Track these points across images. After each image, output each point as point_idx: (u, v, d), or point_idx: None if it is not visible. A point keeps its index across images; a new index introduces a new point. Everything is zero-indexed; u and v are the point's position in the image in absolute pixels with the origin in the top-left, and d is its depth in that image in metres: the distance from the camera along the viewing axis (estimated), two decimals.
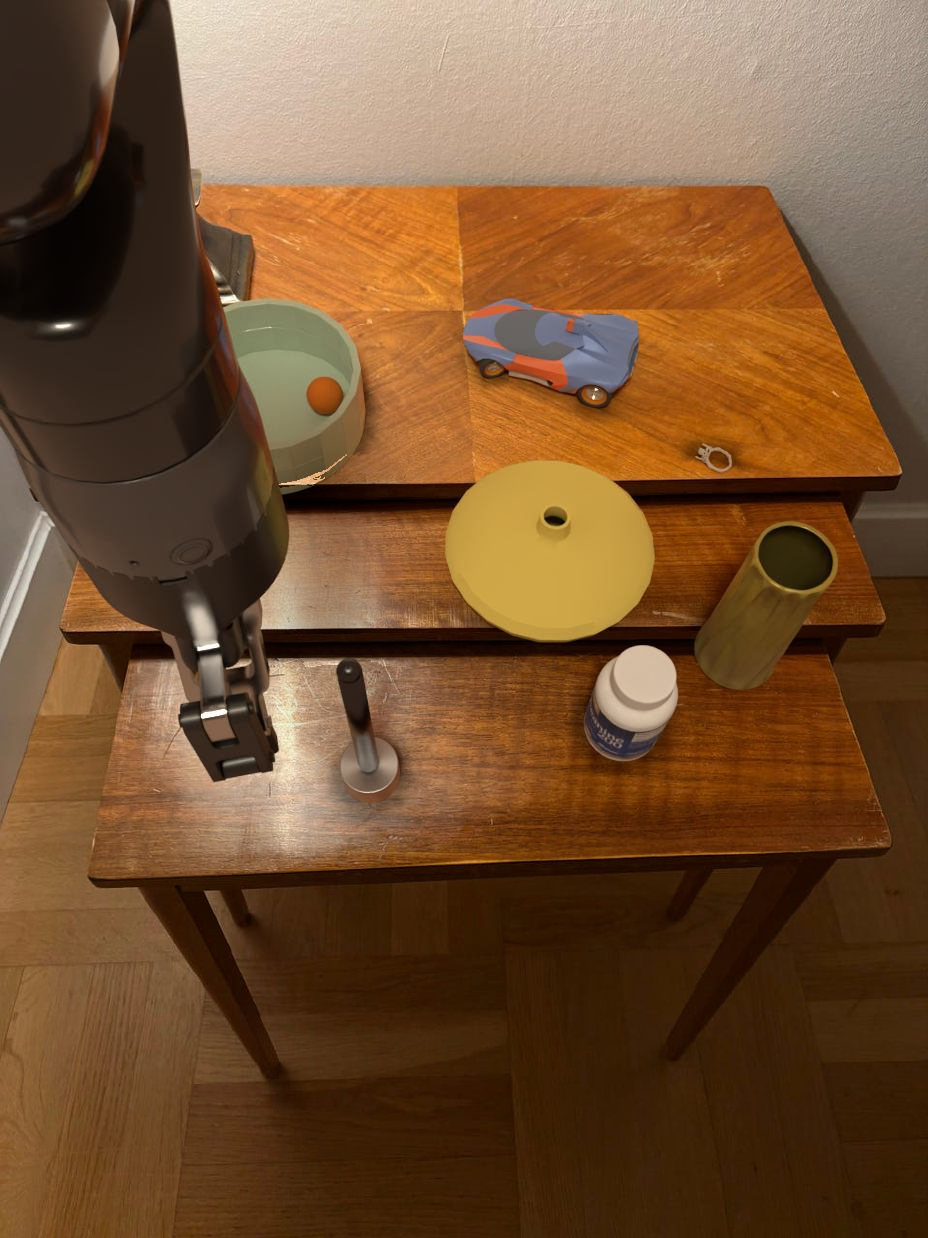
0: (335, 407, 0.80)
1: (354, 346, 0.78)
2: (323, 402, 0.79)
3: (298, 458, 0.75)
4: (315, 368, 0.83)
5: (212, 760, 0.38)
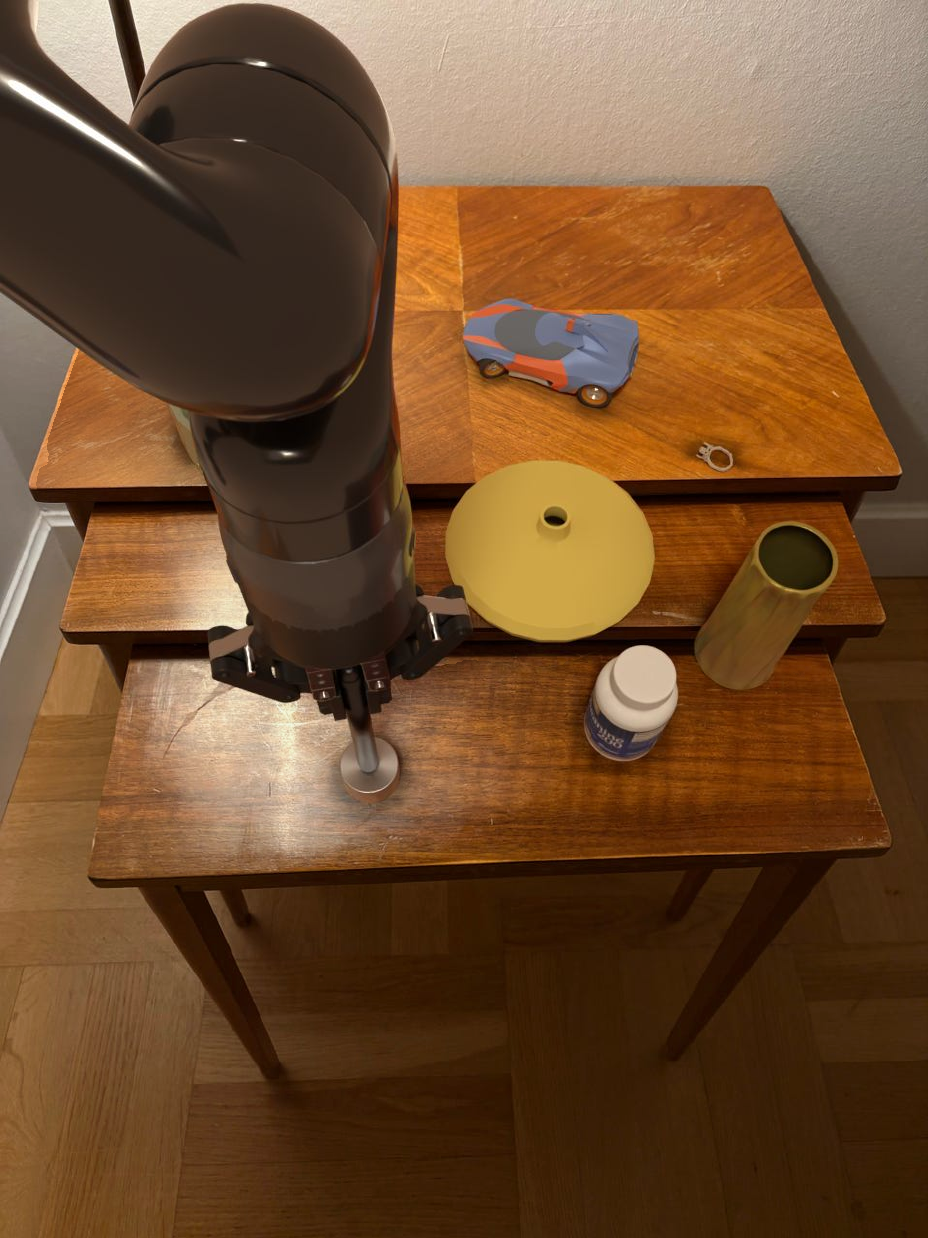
0: None
1: None
2: None
3: None
4: None
5: None
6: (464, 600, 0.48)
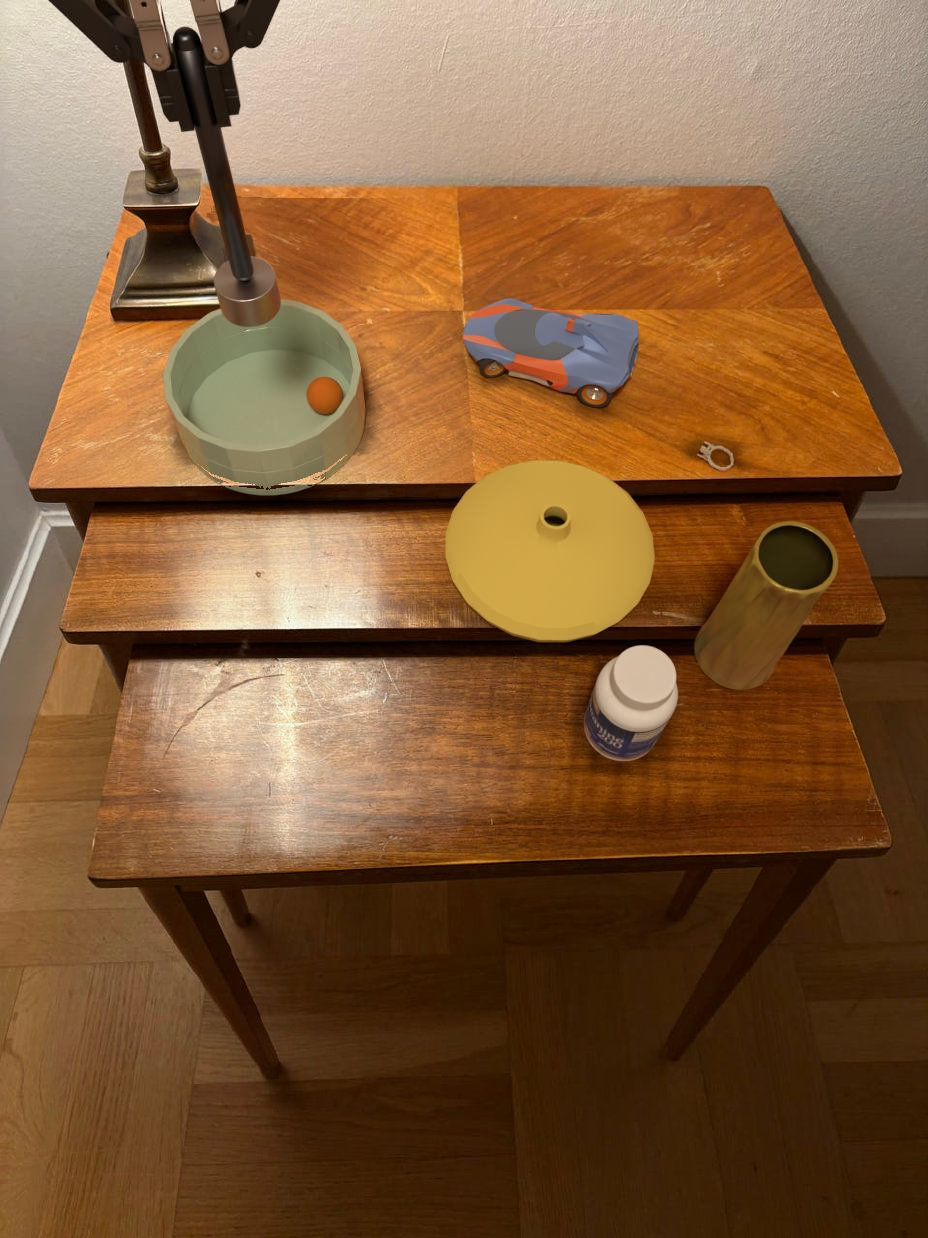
0: (335, 407, 0.80)
1: (354, 346, 0.78)
2: (323, 402, 0.79)
3: (298, 458, 0.75)
4: (315, 368, 0.83)
5: None
6: None
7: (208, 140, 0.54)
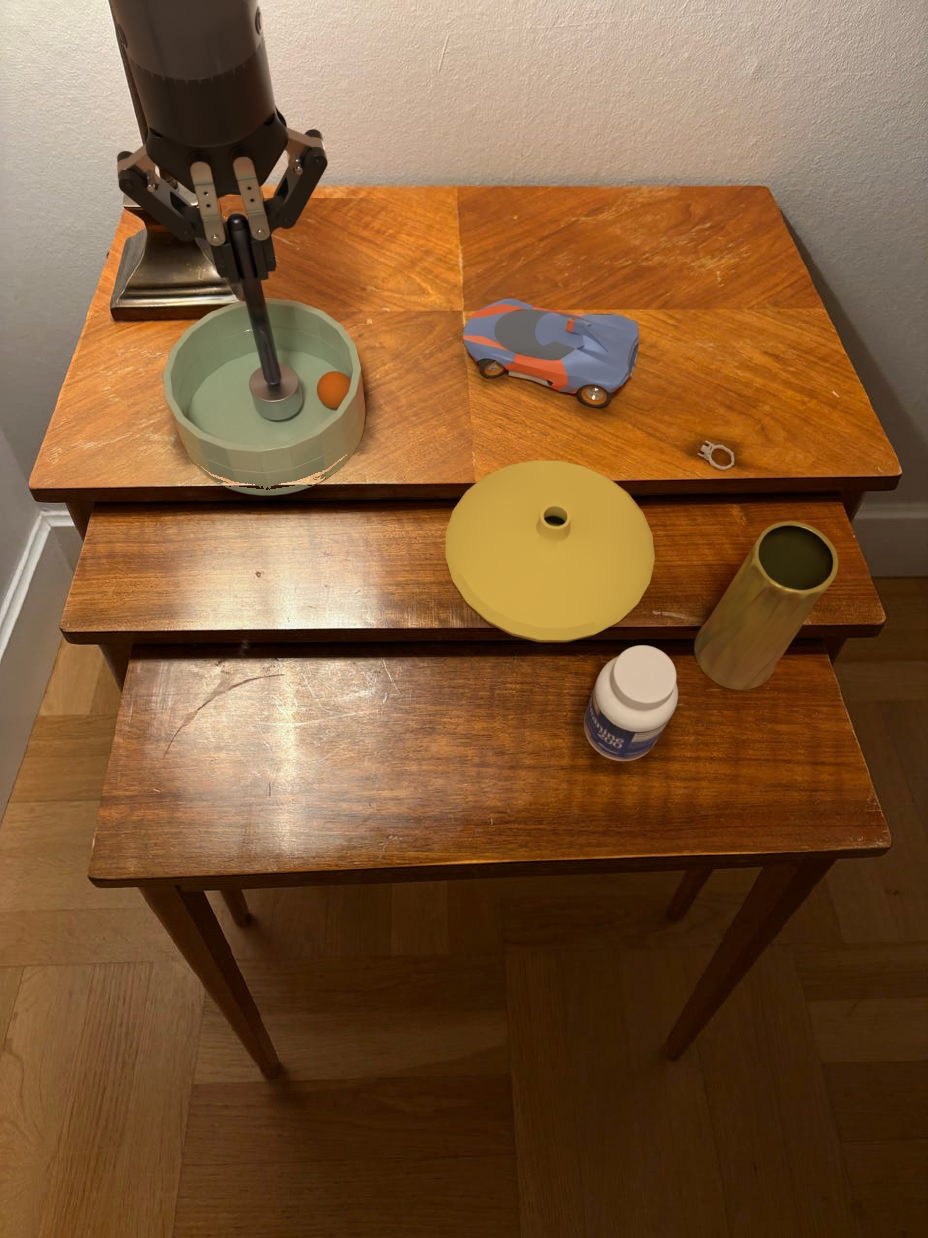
0: None
1: (354, 346, 0.78)
2: (339, 391, 0.79)
3: (298, 458, 0.75)
4: (315, 368, 0.83)
5: None
6: (321, 140, 0.61)
7: (250, 288, 0.69)
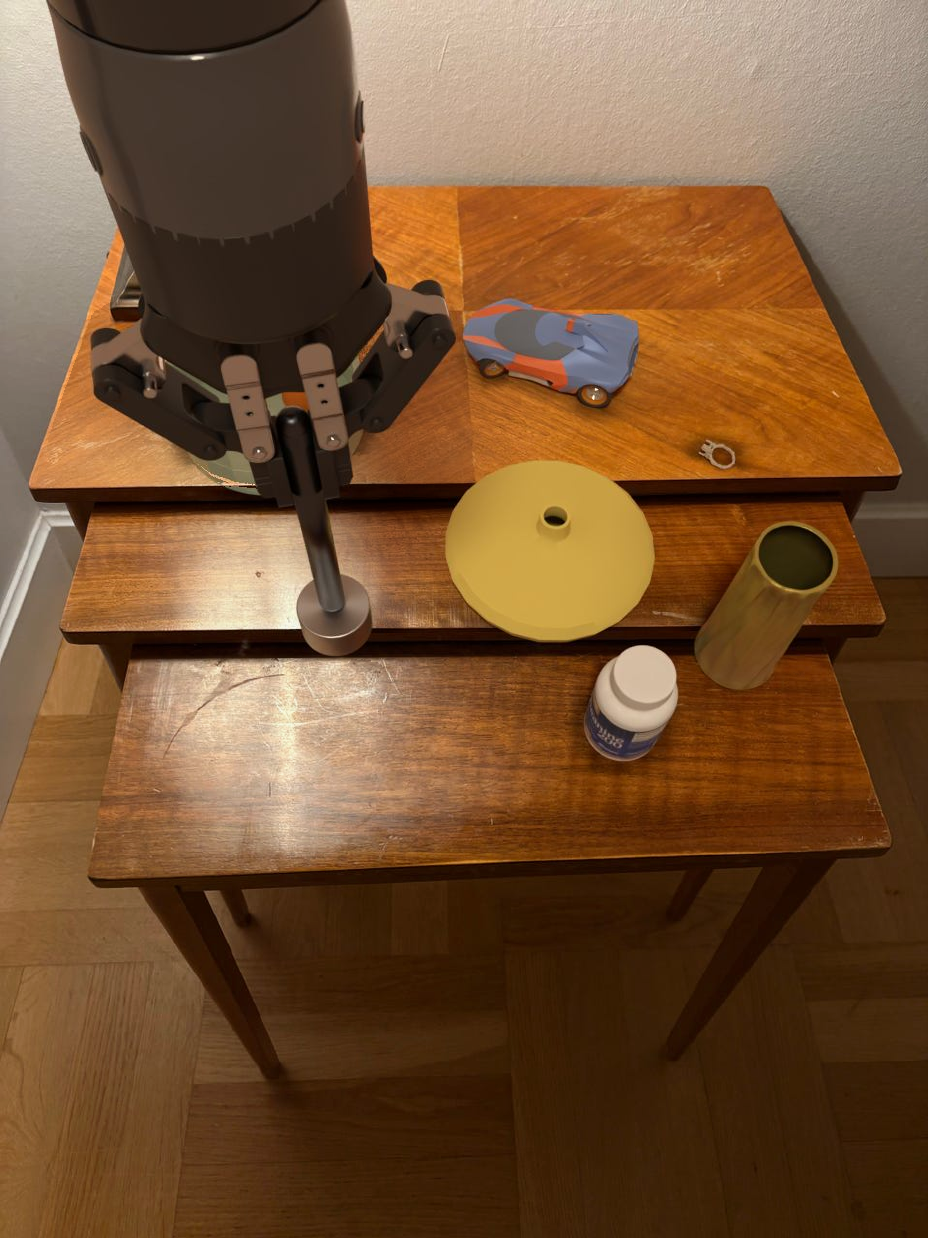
0: (300, 403, 0.79)
1: None
2: None
3: None
4: None
5: None
6: (443, 299, 0.35)
7: (309, 507, 0.43)
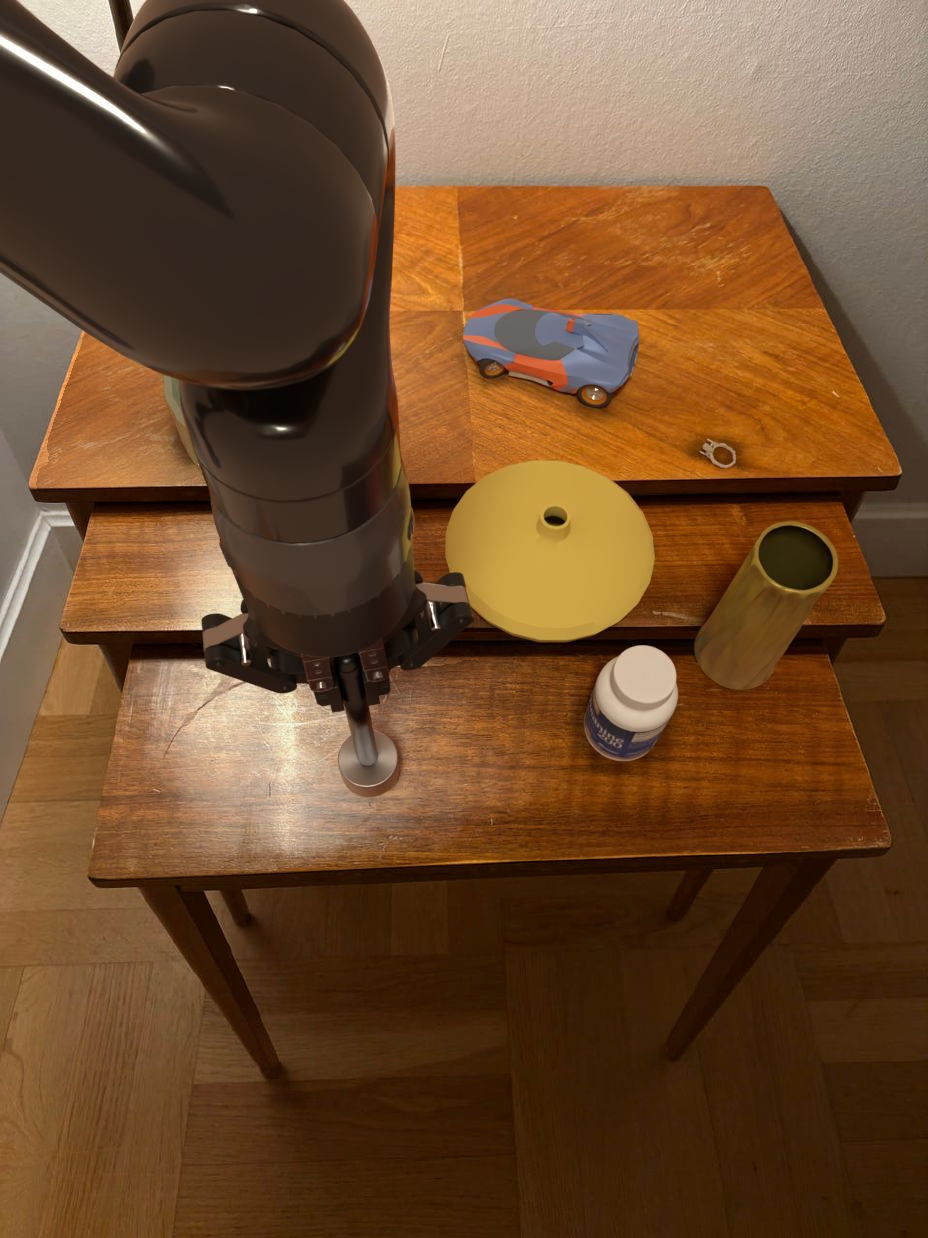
0: None
1: None
2: None
3: None
4: None
5: None
6: (464, 588, 0.47)
7: (355, 709, 0.55)
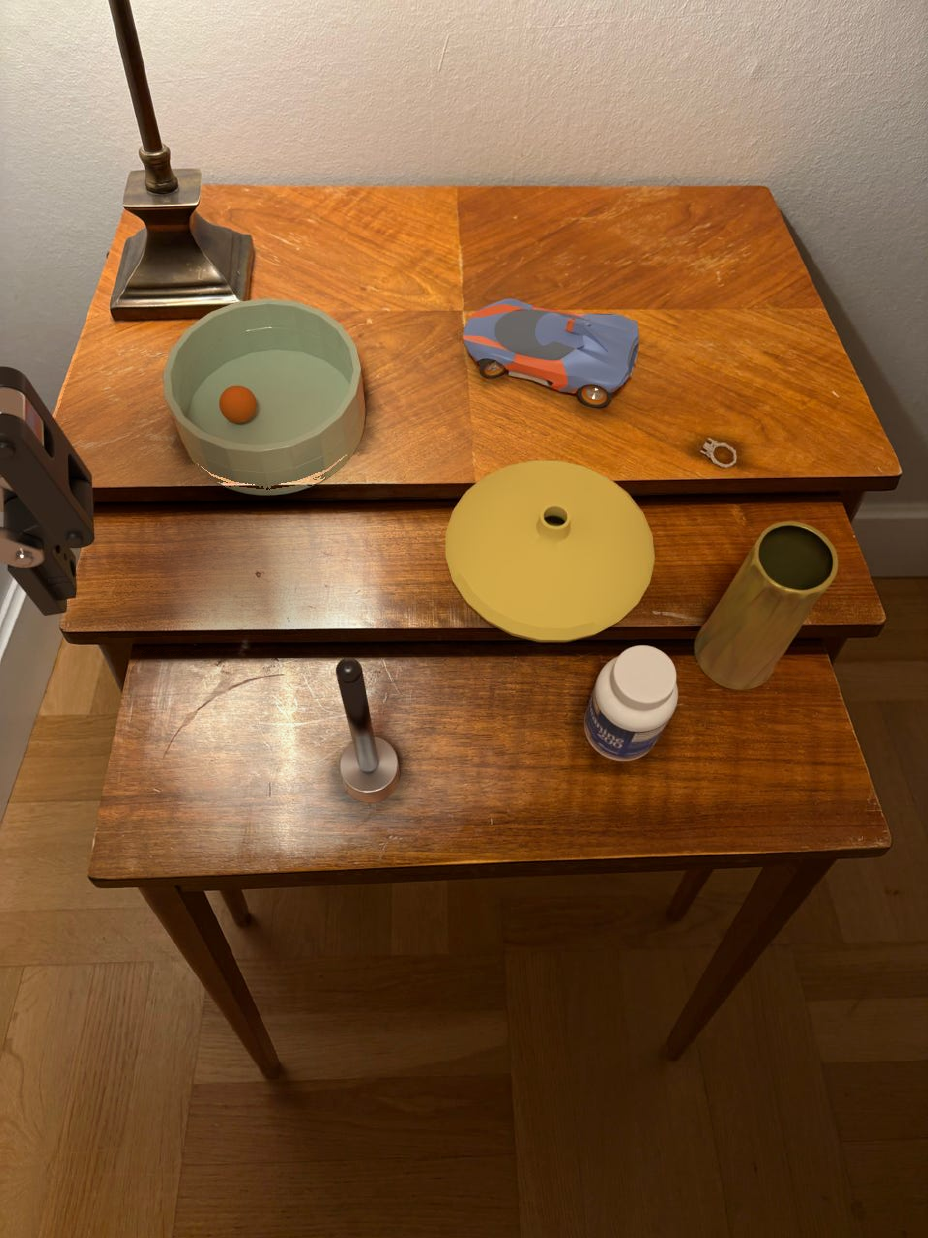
0: (243, 421, 0.80)
1: (354, 346, 0.78)
2: (251, 410, 0.79)
3: (298, 458, 0.75)
4: (315, 368, 0.83)
5: None
6: (4, 389, 0.27)
7: (356, 717, 0.56)
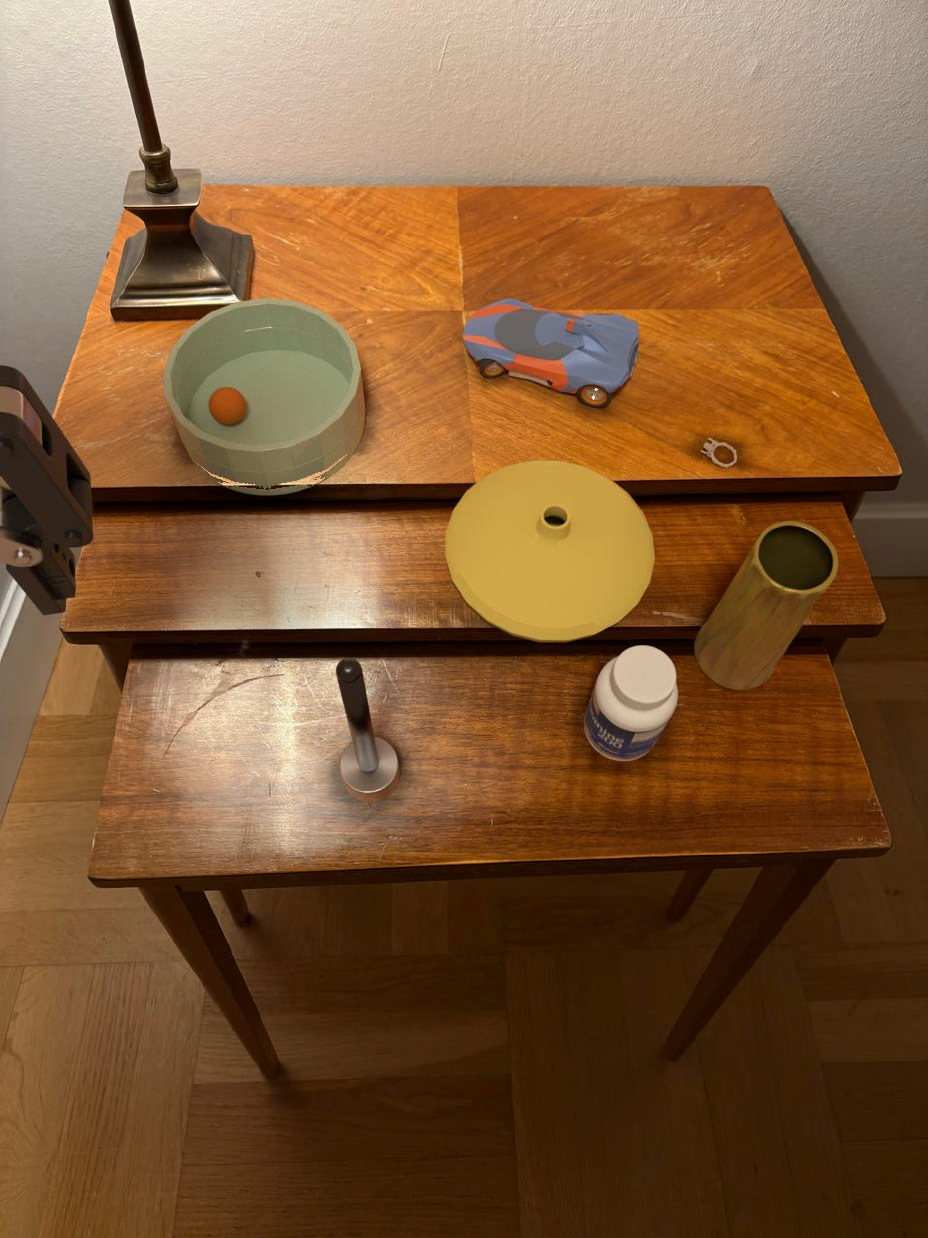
0: (236, 420, 0.79)
1: (354, 346, 0.78)
2: (234, 408, 0.78)
3: (298, 458, 0.75)
4: (315, 368, 0.83)
5: None
6: (1, 388, 0.27)
7: (356, 717, 0.56)
